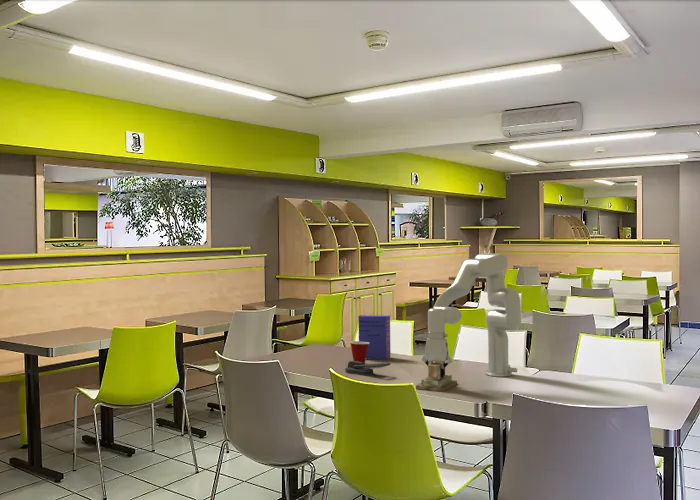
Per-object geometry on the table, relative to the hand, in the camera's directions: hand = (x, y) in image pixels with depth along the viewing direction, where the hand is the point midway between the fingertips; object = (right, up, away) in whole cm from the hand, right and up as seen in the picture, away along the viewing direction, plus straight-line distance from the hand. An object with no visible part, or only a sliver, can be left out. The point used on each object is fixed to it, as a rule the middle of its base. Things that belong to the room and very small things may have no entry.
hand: (436, 376), depth 283 cm
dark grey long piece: (-31, -5, +29) cm, 42 cm away
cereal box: (-25, -5, +73) cm, 77 cm away
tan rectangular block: (0, -2, 0) cm, 2 cm away
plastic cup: (-34, -5, +56) cm, 65 cm away
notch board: (0, -5, 0) cm, 5 cm away
